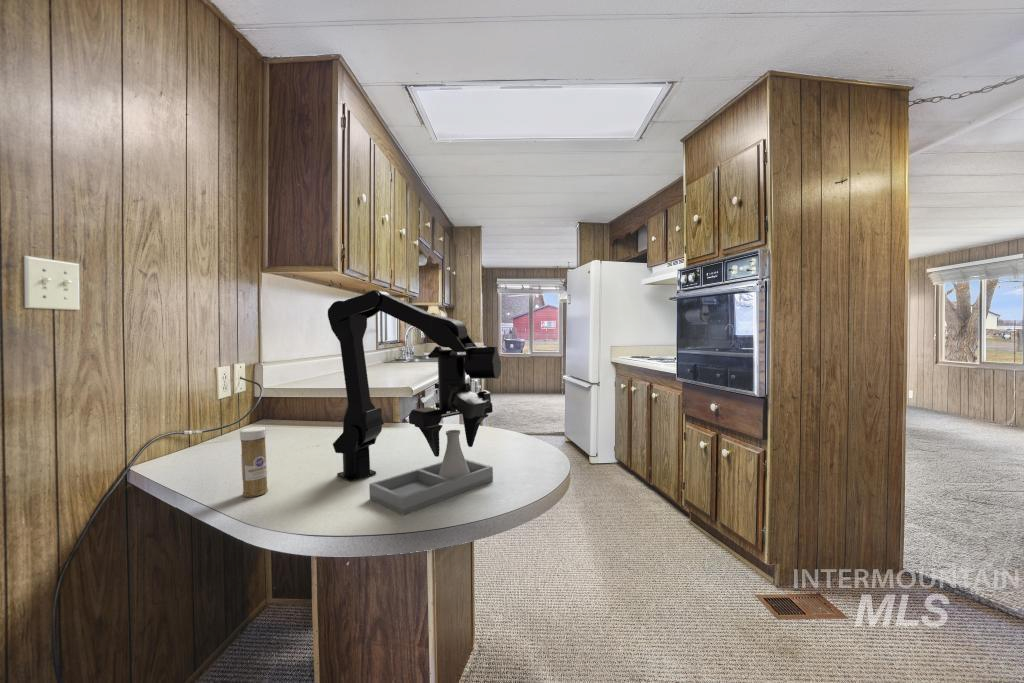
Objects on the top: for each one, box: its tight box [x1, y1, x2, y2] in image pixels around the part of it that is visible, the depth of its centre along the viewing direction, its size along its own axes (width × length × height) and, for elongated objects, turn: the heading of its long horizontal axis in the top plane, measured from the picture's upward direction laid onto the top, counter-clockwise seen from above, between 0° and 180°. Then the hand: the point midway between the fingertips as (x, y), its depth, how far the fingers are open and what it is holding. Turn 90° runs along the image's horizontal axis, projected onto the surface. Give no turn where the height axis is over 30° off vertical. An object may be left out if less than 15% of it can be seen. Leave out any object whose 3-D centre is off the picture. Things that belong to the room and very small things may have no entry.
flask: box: [439, 429, 470, 480], centre depth 93 cm, size 7×7×10 cm
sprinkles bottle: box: [239, 426, 269, 498], centre depth 90 cm, size 5×5×14 cm
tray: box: [368, 458, 494, 516], centre depth 90 cm, size 12×22×3 cm, turn 137°
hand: (454, 451), depth 93 cm, fingers open, 9 cm apart
